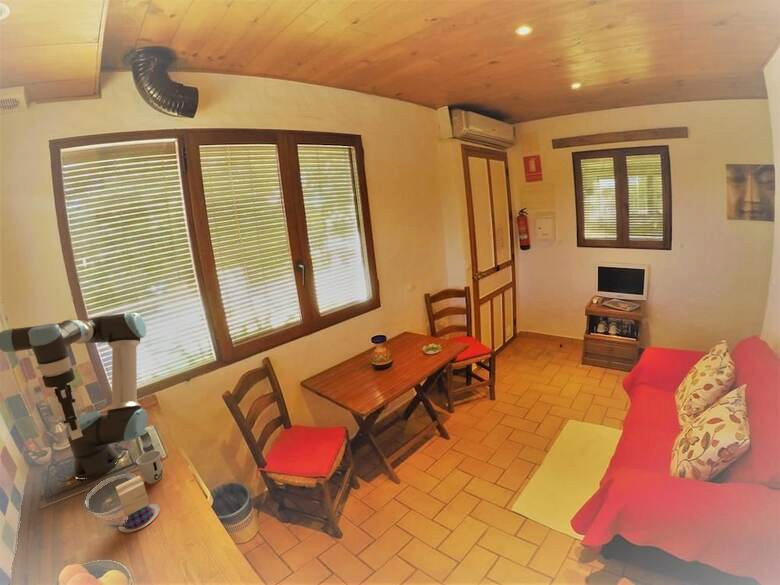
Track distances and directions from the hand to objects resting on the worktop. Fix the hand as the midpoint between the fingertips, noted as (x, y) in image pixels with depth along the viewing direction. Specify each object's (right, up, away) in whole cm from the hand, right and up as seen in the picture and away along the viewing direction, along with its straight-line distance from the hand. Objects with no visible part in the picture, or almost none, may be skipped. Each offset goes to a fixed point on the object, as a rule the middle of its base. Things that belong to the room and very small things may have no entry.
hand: (75, 429), depth 126 cm
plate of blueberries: (+20, -32, +3) cm, 38 cm away
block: (+19, -26, +1) cm, 33 cm away
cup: (+13, -27, +21) cm, 37 cm away
